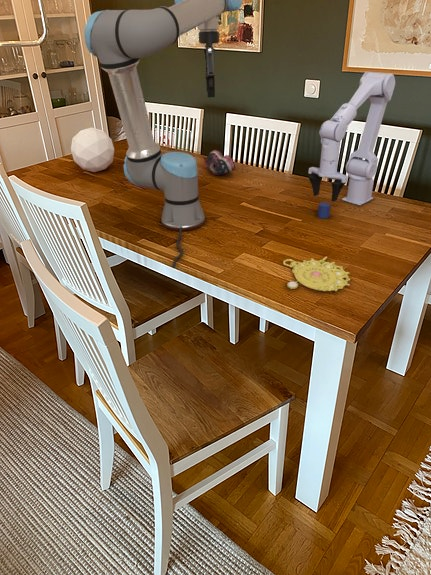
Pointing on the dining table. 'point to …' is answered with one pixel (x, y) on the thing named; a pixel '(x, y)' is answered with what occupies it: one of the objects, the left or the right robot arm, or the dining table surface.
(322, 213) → the canister
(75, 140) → the sphere
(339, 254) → the dining table surface
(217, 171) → the athletic shoe
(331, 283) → the decorative object
